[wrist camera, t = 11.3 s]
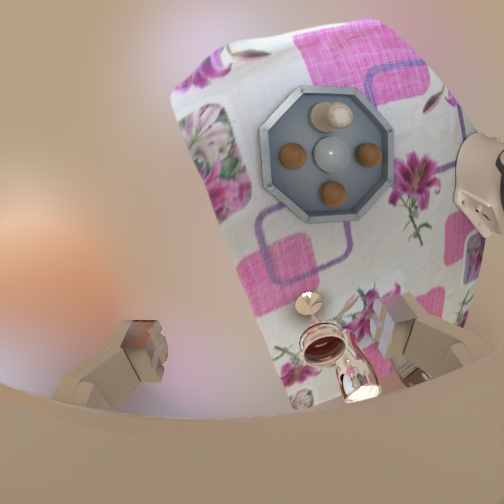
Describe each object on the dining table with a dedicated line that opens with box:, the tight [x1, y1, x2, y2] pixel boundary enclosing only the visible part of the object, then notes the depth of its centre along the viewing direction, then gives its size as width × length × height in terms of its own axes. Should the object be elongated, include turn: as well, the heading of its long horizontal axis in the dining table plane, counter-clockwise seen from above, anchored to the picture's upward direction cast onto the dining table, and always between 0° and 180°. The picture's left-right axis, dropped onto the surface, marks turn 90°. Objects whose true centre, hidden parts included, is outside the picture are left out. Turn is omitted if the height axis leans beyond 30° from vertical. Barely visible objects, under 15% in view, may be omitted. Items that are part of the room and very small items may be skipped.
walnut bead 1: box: [279, 143, 307, 170], centre depth 34 cm, size 4×4×4 cm
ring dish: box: [259, 86, 394, 224], centre depth 35 cm, size 19×19×3 cm
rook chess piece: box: [308, 102, 353, 133], centre depth 30 cm, size 4×4×8 cm
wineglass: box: [295, 292, 347, 367], centre depth 42 cm, size 7×7×12 cm
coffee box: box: [390, 355, 433, 387], centre depth 44 cm, size 9×6×16 cm
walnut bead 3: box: [357, 143, 382, 168], centre depth 34 cm, size 4×4×4 cm
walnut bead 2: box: [321, 181, 346, 207], centre depth 37 cm, size 4×4×4 cm
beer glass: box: [335, 328, 382, 404], centre depth 45 cm, size 7×7×15 cm
